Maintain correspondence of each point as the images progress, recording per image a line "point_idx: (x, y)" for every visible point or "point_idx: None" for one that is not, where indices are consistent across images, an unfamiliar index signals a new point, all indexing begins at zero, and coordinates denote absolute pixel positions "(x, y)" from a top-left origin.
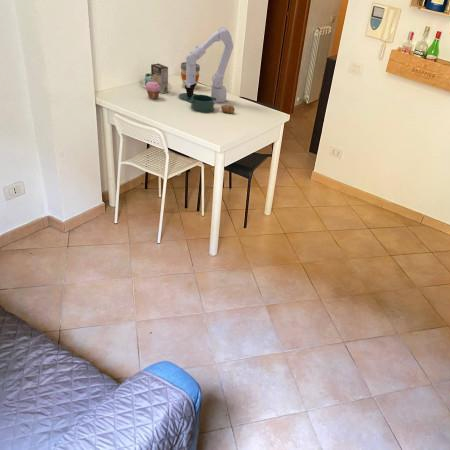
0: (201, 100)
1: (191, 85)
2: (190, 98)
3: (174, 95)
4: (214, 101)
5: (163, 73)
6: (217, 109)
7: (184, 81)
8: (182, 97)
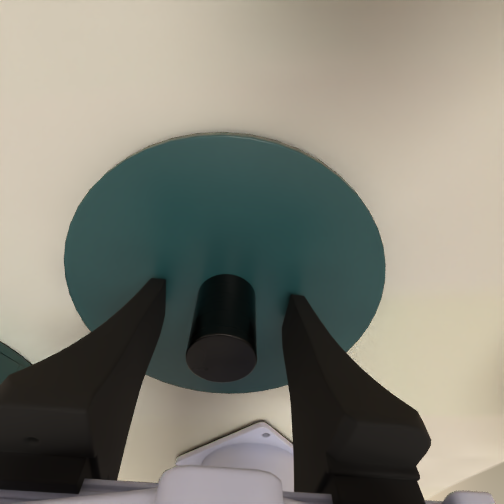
0: None
1: (310, 444)
2: None
3: (284, 40)
4: (190, 460)
5: None
6: None
7: (158, 492)
8: (126, 204)
